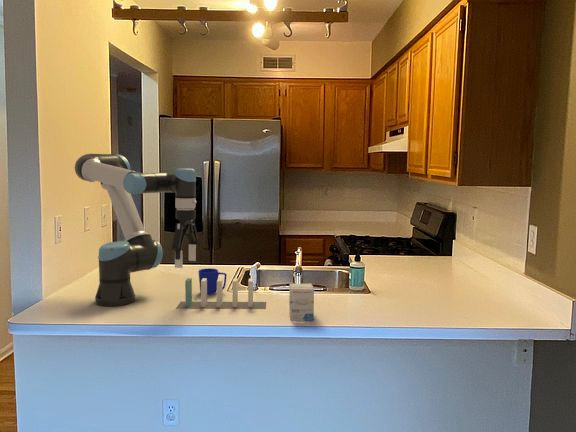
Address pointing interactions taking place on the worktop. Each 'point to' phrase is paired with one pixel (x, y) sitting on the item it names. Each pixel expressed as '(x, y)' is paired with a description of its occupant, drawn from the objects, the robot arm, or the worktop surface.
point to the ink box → (301, 302)
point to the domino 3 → (235, 292)
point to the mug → (211, 279)
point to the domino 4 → (250, 293)
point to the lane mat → (224, 305)
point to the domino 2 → (219, 292)
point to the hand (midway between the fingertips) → (185, 264)
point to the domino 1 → (204, 292)
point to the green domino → (188, 292)
